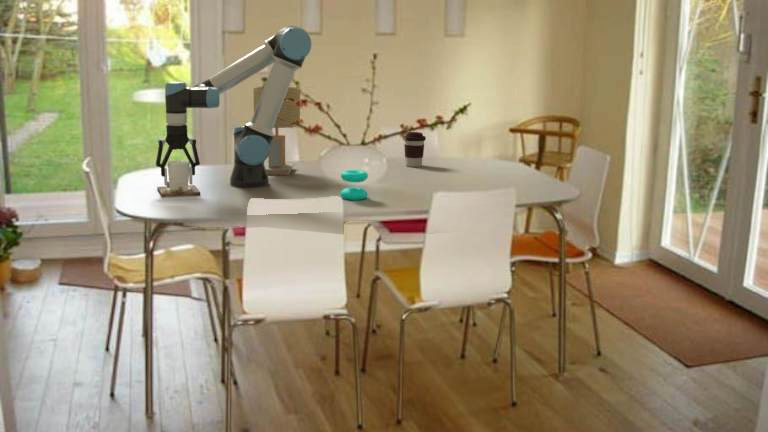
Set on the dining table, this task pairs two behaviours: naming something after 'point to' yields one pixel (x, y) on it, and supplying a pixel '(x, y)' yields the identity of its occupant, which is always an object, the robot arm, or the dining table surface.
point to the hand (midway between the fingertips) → (178, 184)
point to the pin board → (178, 191)
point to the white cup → (178, 174)
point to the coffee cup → (414, 149)
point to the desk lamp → (277, 146)
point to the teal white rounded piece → (354, 192)
